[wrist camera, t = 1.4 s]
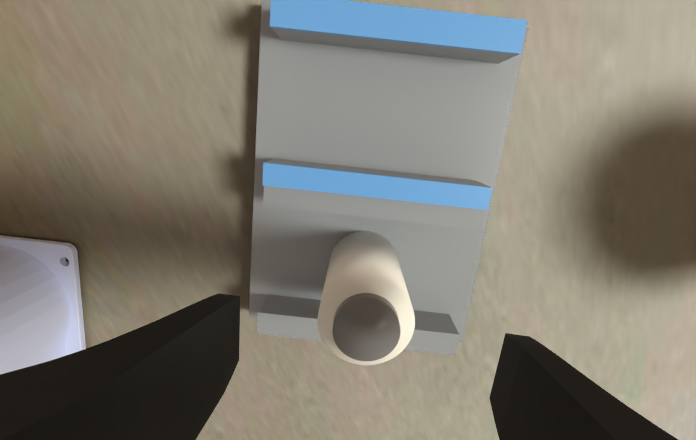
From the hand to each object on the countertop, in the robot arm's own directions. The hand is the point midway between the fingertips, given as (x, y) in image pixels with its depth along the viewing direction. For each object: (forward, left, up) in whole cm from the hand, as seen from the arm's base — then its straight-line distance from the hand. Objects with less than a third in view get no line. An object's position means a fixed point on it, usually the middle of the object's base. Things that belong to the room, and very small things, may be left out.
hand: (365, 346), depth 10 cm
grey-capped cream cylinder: (-1, 0, -9) cm, 9 cm away
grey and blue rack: (+3, 0, -10) cm, 11 cm away
